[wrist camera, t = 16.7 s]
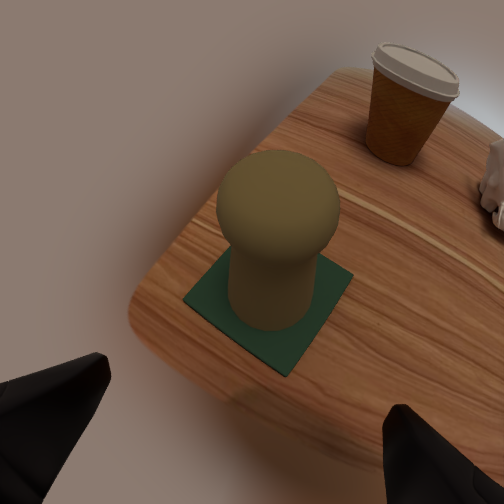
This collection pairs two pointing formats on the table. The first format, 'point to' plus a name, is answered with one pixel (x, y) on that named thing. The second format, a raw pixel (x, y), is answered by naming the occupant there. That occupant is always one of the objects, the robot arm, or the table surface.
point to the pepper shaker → (275, 234)
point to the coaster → (269, 342)
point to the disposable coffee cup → (406, 101)
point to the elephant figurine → (494, 183)
